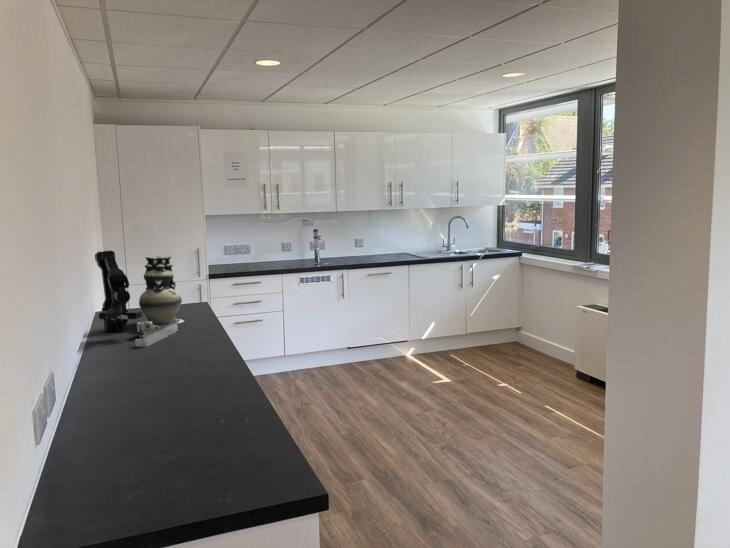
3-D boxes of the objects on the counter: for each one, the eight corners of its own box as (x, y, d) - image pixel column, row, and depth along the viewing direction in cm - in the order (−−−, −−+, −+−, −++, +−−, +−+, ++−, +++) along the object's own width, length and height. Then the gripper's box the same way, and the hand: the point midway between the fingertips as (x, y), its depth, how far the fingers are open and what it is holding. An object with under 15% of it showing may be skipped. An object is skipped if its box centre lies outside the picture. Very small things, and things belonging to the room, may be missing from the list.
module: (137, 332, 288) (136, 322, 287) (140, 330, 292) (139, 320, 291) (150, 332, 288) (149, 322, 287) (152, 330, 292) (152, 320, 291)
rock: (163, 338, 274) (162, 323, 273) (140, 341, 270) (138, 325, 269) (161, 332, 287) (160, 318, 287) (139, 335, 284) (137, 320, 283)
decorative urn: (167, 318, 323) (162, 254, 319) (192, 321, 310) (187, 254, 307) (132, 325, 306) (126, 258, 302) (157, 328, 293) (151, 258, 290)
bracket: (135, 346, 260) (134, 335, 259) (167, 331, 289) (167, 321, 288) (147, 346, 259) (147, 335, 258) (178, 331, 288) (178, 321, 287)
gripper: (89, 303, 268) (93, 337, 270) (128, 303, 265) (131, 337, 267) (104, 298, 279) (107, 331, 281) (141, 298, 276) (143, 331, 278)
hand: (121, 333), depth 276 cm, fingers closed
